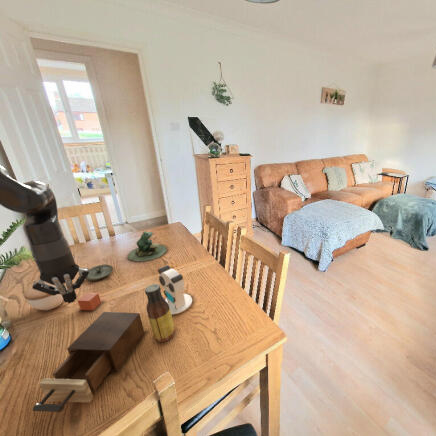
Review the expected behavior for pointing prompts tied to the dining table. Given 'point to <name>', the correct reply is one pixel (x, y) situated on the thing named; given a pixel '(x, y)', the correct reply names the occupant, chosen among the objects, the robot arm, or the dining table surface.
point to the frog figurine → (146, 249)
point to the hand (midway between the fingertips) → (71, 301)
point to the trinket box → (42, 299)
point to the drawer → (74, 380)
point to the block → (89, 301)
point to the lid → (99, 272)
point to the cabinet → (111, 336)
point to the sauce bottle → (159, 314)
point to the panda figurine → (174, 290)
